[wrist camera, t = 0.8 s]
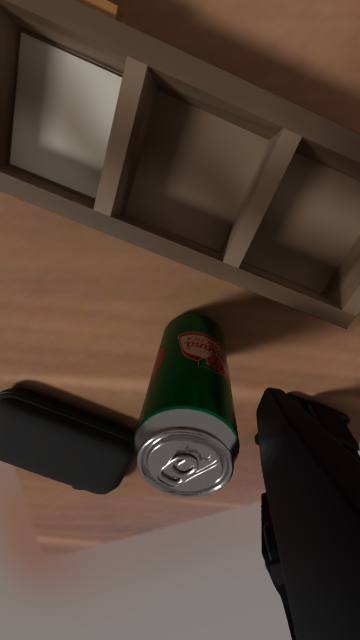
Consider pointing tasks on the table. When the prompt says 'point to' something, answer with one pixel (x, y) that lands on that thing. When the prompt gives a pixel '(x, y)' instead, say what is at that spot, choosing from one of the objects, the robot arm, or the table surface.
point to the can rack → (178, 156)
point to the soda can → (188, 412)
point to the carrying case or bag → (63, 442)
